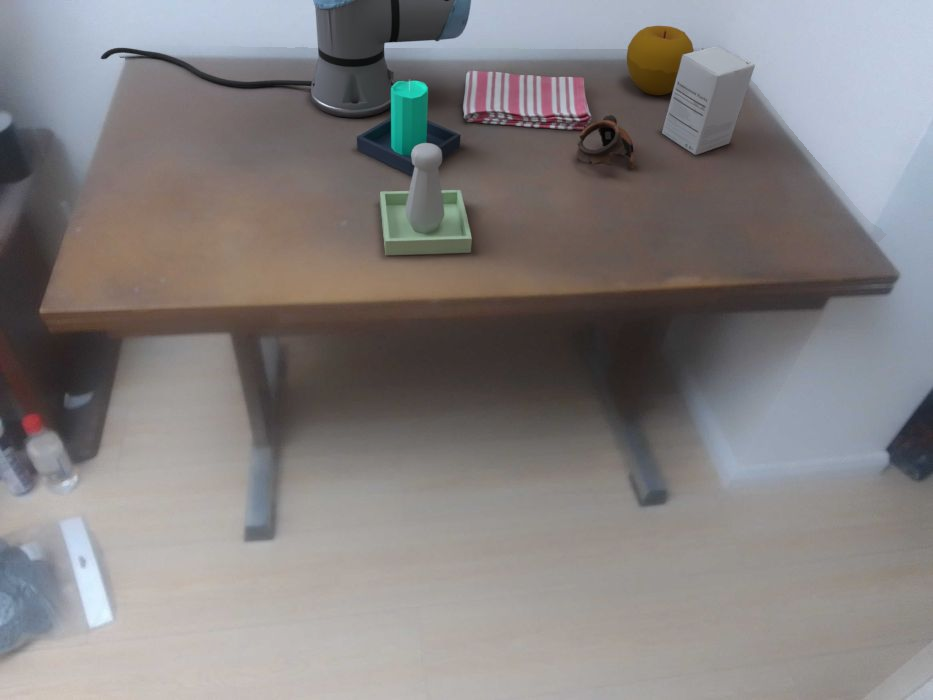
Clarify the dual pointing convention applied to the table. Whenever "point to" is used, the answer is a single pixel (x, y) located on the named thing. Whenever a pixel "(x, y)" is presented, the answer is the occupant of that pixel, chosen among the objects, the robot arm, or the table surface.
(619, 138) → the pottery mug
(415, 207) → the salt shaker
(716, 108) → the rectangular carton
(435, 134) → the dark tray
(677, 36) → the apple
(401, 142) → the candle
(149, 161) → the table surface
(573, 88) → the dish towel
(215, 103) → the table surface
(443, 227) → the pale tray
